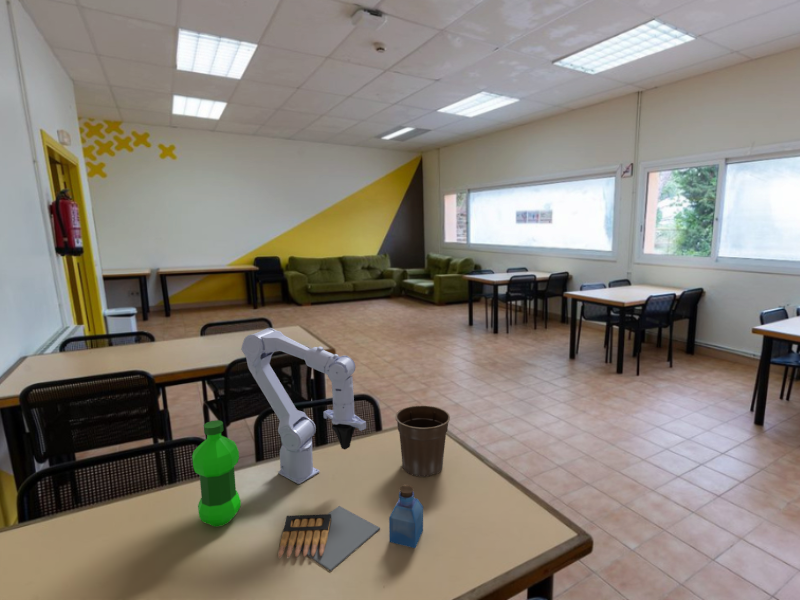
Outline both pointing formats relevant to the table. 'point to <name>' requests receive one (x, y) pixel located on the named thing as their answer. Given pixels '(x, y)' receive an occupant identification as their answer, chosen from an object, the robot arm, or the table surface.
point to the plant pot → (422, 438)
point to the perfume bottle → (406, 519)
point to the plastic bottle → (216, 476)
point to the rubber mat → (342, 537)
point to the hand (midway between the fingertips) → (345, 447)
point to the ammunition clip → (305, 533)
